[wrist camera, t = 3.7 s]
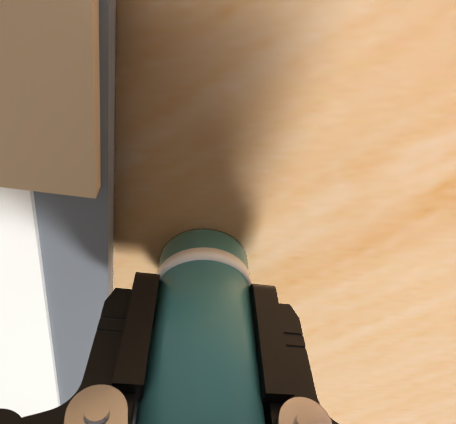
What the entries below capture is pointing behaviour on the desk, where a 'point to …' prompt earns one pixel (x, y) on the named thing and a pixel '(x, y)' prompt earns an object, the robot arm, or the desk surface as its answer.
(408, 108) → the desk surface
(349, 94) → the desk surface
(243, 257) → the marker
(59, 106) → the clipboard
